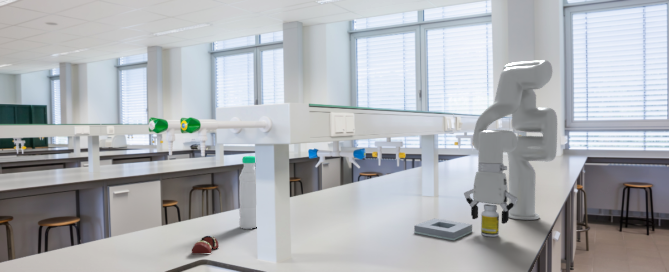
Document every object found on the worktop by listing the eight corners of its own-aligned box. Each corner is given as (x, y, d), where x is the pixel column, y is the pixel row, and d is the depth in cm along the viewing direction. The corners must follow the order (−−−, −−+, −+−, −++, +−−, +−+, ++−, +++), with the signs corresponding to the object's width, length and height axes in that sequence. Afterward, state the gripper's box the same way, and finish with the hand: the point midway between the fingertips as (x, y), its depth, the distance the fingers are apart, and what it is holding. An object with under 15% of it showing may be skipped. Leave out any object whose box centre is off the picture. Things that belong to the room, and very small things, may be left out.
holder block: (434, 225, 154) (434, 218, 154) (472, 231, 145) (472, 224, 145) (414, 232, 143) (414, 225, 143) (453, 240, 134) (453, 232, 134)
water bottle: (235, 228, 149) (234, 156, 149) (246, 224, 156) (246, 155, 155) (252, 230, 147) (252, 157, 146) (263, 225, 153) (263, 155, 153)
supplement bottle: (500, 237, 138) (500, 207, 137) (482, 236, 139) (482, 206, 138) (497, 233, 143) (497, 204, 143) (480, 232, 144) (480, 203, 144)
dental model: (189, 240, 119) (202, 233, 127) (189, 255, 120) (202, 247, 128) (208, 242, 119) (220, 234, 127) (208, 257, 119) (220, 249, 127)
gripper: (521, 169, 137) (520, 223, 137) (469, 166, 149) (468, 215, 149) (513, 171, 132) (512, 226, 132) (460, 167, 143) (459, 218, 143)
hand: (489, 220), depth 140 cm, fingers open, 9 cm apart
